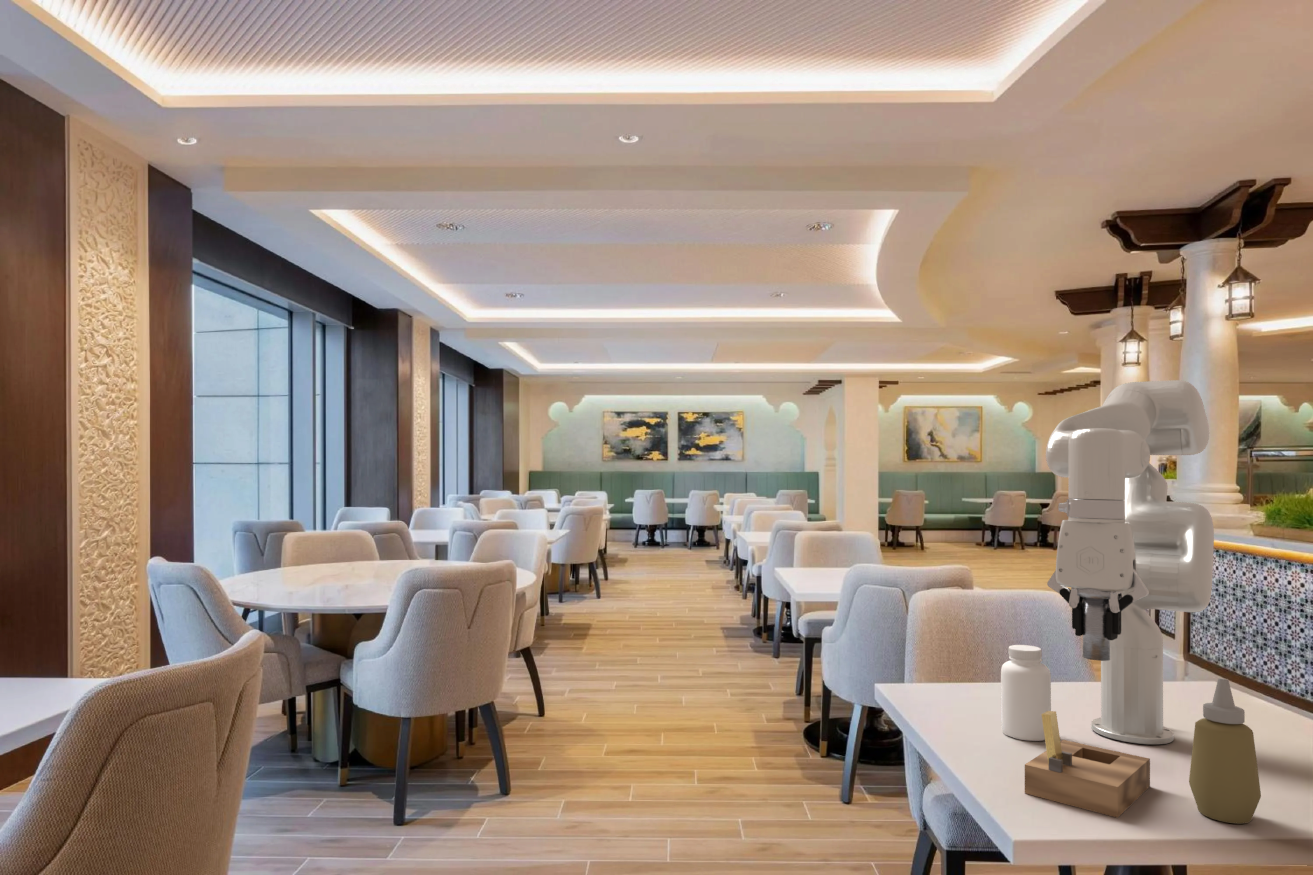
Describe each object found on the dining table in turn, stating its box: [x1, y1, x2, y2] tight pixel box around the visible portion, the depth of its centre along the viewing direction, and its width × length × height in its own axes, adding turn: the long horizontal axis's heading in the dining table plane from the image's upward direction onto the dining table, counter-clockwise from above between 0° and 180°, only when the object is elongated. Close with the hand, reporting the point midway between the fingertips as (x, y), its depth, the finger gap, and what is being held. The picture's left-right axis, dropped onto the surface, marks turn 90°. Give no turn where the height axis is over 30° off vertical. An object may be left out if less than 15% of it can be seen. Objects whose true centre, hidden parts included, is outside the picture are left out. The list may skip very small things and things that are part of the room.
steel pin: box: [1077, 588, 1110, 662], centre depth 127 cm, size 5×5×10 cm
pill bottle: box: [1000, 644, 1052, 742], centre depth 149 cm, size 8×8×15 cm
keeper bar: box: [1041, 710, 1063, 765], centre depth 122 cm, size 2×7×1 cm
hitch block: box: [1024, 739, 1151, 819], centre depth 123 cm, size 16×12×6 cm
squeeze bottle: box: [1188, 678, 1262, 825], centre depth 115 cm, size 8×8×18 cm
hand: (1096, 635), depth 126 cm, fingers closed on steel pin, 3 cm apart
